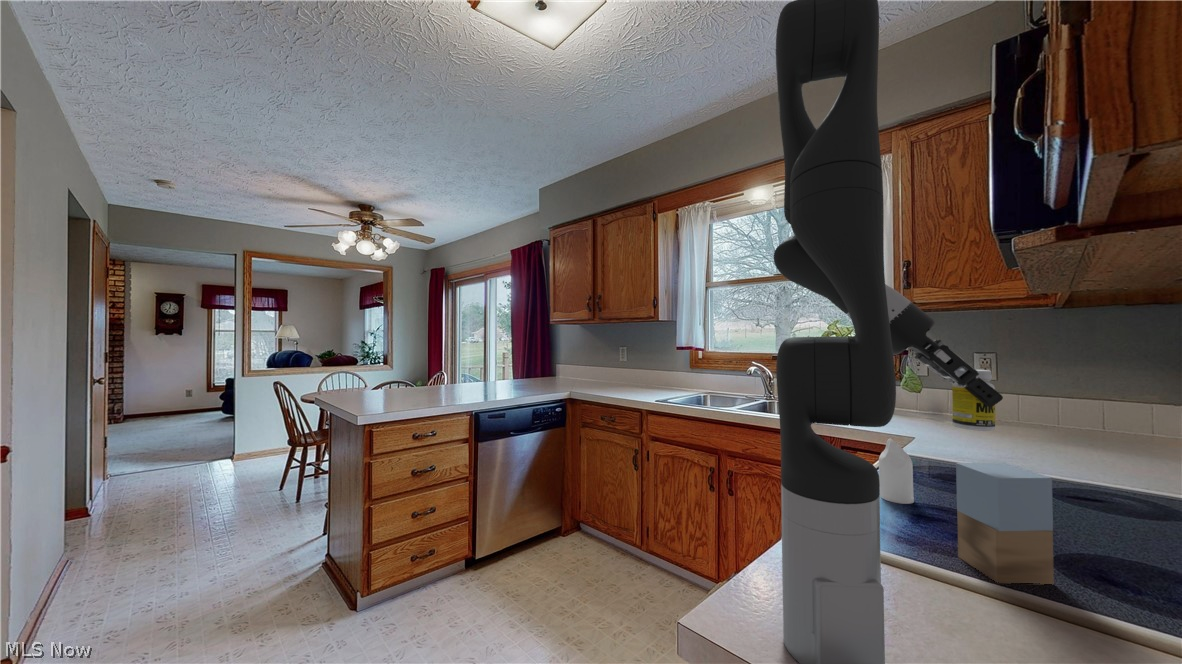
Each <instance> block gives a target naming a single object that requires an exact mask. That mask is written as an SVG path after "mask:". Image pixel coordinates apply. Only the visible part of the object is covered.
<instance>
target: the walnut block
mask: <svg viewBox="0 0 1182 664" xmlns="http://www.w3.org/2000/svg"><path fill="white" fill-rule="evenodd" d="M956 513H957V515H956V516H957V557H958V558H959V559H961V560H962V561H964V562H965V563H966V564H968V565H970V566H971V567H972V568H973V569H975V568H976V569H975V570H977V571H978V570H979V571H978V572H980V573H981V572H982V573H981V574H982V575H984V574H985V575H984V576H986V577H987V576H988V577H987V578H989V579H990V580H991V579H992V581H993V580H994V581H995V583H996V582H997V583H996V584H1011V583H1040V584H1039V585H1044V584H1052V585H1051V586H1053V585H1054V583H1055V582H1054V536H1053V535H1054V532H1053V531H1054V530H1053V531H998V530H996V529H994V528H992V527H990V526H988V525H986V524H984V523H982V522H980V521H978V520H976V519H974V518H971V517H969V516H967V515H965V514H963V513H961V512H959V511H957V510H956ZM994 581H993V582H994ZM998 582H999V583H998Z"/></svg>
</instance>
